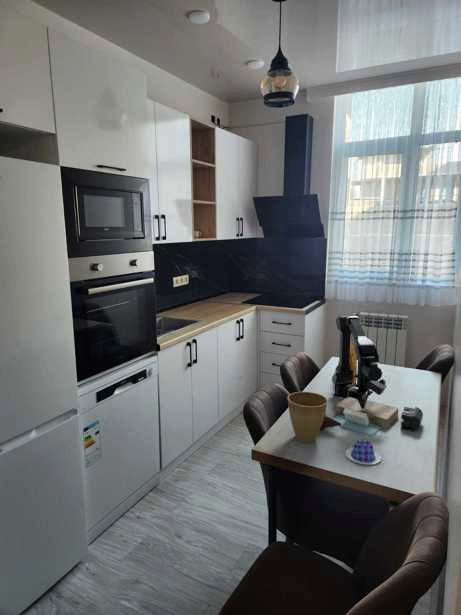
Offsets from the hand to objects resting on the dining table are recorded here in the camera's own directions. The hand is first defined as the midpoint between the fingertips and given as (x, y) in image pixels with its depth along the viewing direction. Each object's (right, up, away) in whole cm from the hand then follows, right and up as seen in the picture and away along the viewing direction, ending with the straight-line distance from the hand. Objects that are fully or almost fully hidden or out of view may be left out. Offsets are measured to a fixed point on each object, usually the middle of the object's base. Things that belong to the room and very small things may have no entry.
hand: (362, 408), depth 170 cm
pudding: (-9, -10, -28) cm, 31 cm away
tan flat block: (+3, -4, +4) cm, 7 cm away
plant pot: (-27, -8, -15) cm, 31 cm away
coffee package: (+6, +2, +45) cm, 45 cm away
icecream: (-19, -7, -8) cm, 22 cm away
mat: (-5, -6, -5) cm, 9 cm away
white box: (-4, -2, -4) cm, 6 cm away
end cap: (+18, -6, -6) cm, 20 cm away
